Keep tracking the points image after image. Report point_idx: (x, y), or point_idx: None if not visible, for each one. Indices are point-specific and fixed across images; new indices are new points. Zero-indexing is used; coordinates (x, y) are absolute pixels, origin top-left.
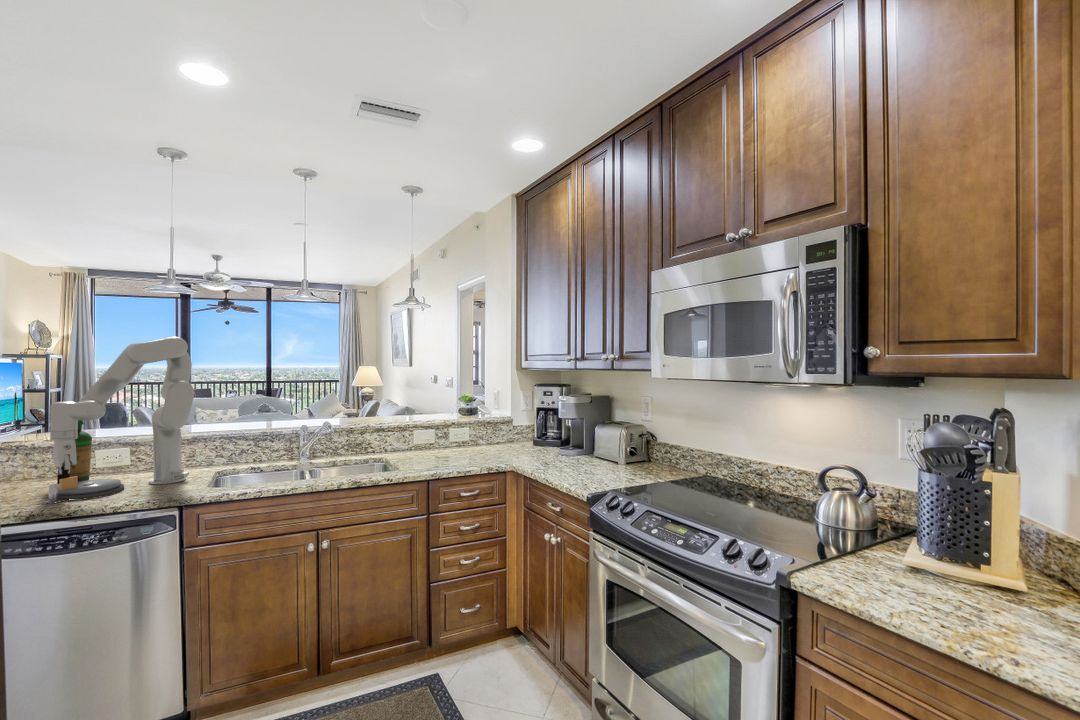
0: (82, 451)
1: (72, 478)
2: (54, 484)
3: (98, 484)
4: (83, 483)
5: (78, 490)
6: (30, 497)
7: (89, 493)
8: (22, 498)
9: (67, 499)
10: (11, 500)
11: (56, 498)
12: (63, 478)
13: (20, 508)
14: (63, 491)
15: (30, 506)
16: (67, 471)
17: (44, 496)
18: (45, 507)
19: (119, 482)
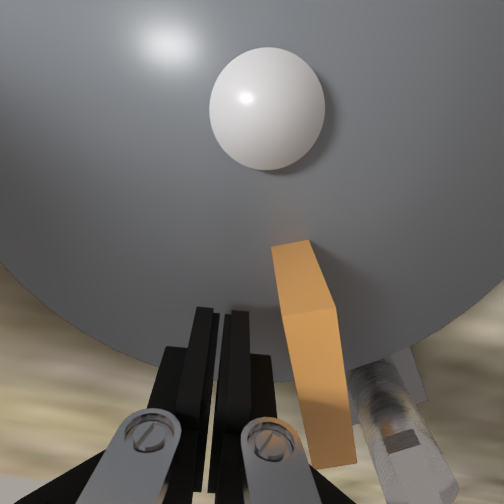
0: None
1: (337, 353)
2: (413, 493)
3: (387, 31)
4: (120, 119)
5: (490, 288)
6: (21, 397)
7: None
8: (16, 427)
9: None
10: (33, 468)
11: (405, 385)
12: (311, 438)
13: (342, 490)
14: (365, 358)
15: None
16: (340, 499)
17: (64, 343)
18: (464, 427)
19: None
